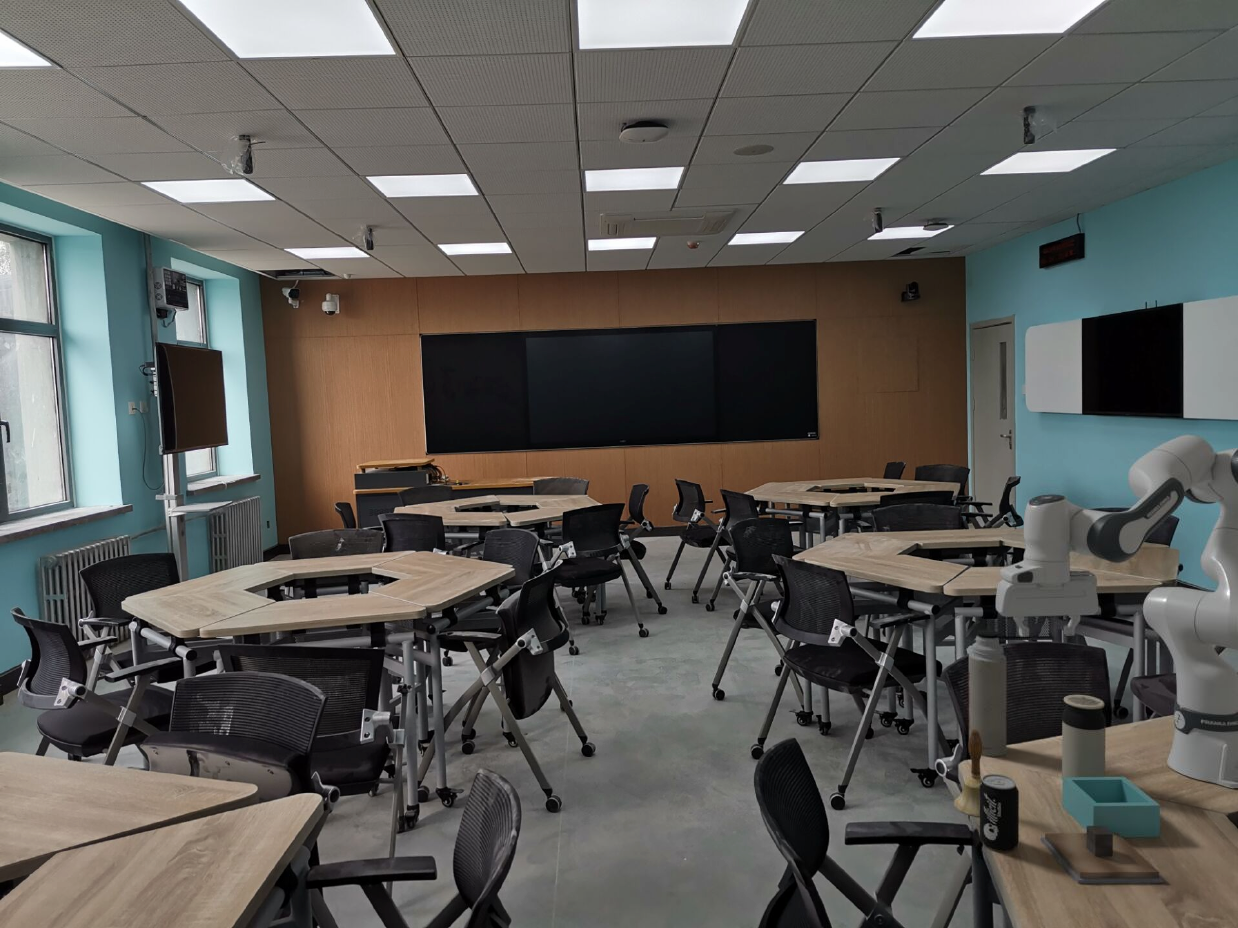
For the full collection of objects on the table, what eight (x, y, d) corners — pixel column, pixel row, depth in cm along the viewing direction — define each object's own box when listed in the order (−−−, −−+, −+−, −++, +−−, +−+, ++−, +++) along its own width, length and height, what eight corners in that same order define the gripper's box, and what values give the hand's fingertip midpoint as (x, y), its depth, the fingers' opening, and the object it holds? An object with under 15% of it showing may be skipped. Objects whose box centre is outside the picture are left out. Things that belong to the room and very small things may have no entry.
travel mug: (1101, 795, 173) (1102, 709, 172) (1058, 785, 178) (1059, 702, 177) (1107, 781, 180) (1108, 698, 178) (1065, 772, 185) (1066, 691, 183)
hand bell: (995, 821, 164) (995, 741, 163) (950, 811, 169) (949, 733, 168) (1001, 803, 171) (1001, 726, 170) (958, 794, 176) (957, 719, 175)
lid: (1117, 837, 156) (1117, 811, 155) (1158, 877, 143) (1159, 848, 142) (1045, 838, 156) (1045, 812, 156) (1080, 877, 143) (1080, 849, 143)
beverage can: (1022, 854, 152) (1022, 789, 152) (983, 851, 154) (983, 787, 153) (1013, 835, 159) (1013, 773, 158) (976, 833, 160) (976, 771, 159)
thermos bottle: (963, 750, 198) (962, 632, 196) (977, 739, 203) (977, 625, 201) (998, 759, 192) (998, 638, 190) (1011, 748, 197) (1011, 630, 195)
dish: (1123, 805, 169) (1124, 776, 168) (1159, 836, 157) (1159, 805, 156) (1062, 806, 169) (1062, 777, 169) (1093, 837, 157) (1093, 805, 157)
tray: (1118, 839, 156) (1118, 836, 156) (1163, 882, 142) (1163, 879, 142) (1040, 840, 157) (1040, 837, 157) (1078, 882, 143) (1078, 879, 143)
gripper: (1089, 567, 182) (1088, 630, 183) (992, 569, 183) (992, 632, 184) (1104, 573, 176) (1104, 638, 177) (1004, 575, 177) (1004, 640, 178)
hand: (1046, 635), depth 181 cm, fingers open, 8 cm apart
